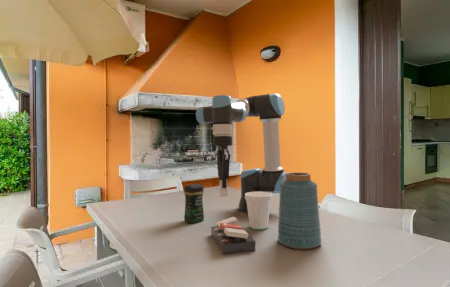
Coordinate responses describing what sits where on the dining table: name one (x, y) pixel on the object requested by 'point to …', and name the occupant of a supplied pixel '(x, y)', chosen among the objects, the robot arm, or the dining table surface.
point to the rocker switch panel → (232, 242)
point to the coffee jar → (194, 203)
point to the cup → (258, 209)
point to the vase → (299, 212)
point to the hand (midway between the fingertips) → (223, 196)
